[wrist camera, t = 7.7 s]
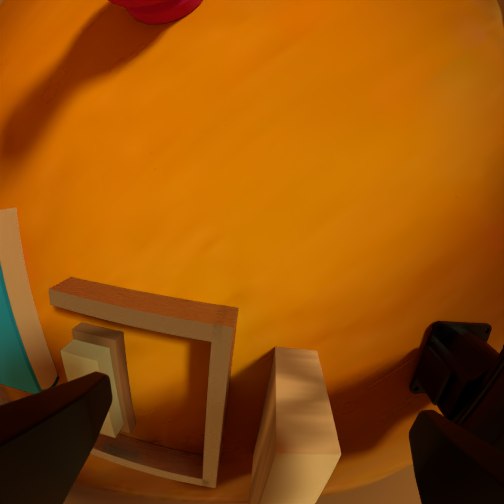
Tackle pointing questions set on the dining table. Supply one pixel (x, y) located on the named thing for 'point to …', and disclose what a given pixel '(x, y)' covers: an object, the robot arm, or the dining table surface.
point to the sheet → (294, 433)
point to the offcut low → (119, 365)
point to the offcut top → (85, 362)
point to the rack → (175, 323)
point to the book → (20, 318)
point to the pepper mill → (158, 9)
